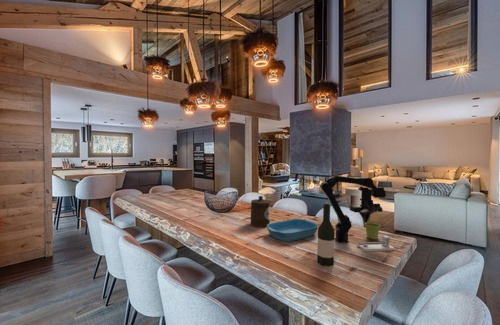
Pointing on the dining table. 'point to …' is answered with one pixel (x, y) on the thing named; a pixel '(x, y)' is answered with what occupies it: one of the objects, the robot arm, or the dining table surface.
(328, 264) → the wine bottle
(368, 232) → the plant pot
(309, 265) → the dining table surface
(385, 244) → the slider
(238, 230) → the dining table surface
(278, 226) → the casserole dish
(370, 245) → the plate
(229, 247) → the dining table surface
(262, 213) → the wooden container
